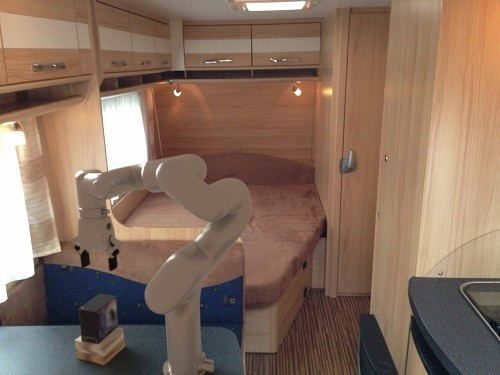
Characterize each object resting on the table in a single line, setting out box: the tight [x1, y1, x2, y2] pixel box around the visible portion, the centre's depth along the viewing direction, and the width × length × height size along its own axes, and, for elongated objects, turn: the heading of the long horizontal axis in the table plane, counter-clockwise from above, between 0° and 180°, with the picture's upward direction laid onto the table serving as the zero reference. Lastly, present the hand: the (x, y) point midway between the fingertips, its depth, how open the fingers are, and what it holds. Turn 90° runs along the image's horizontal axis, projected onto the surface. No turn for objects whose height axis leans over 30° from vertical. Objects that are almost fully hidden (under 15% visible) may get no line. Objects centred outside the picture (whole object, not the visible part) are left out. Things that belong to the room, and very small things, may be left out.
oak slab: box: [75, 338, 126, 366], centre depth 133 cm, size 10×10×4 cm
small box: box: [78, 293, 119, 343], centre depth 131 cm, size 11×6×10 cm, turn 164°
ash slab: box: [74, 326, 125, 357], centre depth 133 cm, size 10×10×4 cm
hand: (99, 267), depth 130 cm, fingers open, 9 cm apart
